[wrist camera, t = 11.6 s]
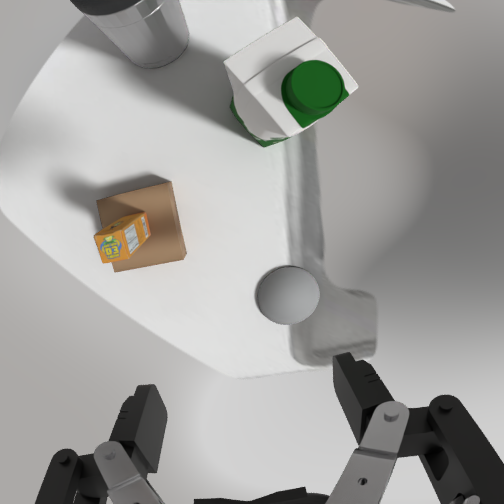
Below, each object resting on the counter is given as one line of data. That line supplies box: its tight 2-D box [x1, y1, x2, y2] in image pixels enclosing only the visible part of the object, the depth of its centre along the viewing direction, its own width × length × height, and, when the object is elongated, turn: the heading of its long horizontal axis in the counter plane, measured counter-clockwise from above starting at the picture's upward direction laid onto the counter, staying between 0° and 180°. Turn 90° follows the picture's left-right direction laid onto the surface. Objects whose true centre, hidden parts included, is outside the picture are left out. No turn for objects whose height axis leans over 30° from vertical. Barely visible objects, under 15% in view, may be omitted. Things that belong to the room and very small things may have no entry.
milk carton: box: [223, 17, 358, 147], centre depth 28 cm, size 9×9×20 cm
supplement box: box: [94, 212, 151, 263], centre depth 32 cm, size 3×3×10 cm
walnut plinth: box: [97, 182, 187, 272], centre depth 39 cm, size 10×10×3 cm
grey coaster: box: [258, 267, 320, 325], centre depth 44 cm, size 9×9×1 cm
